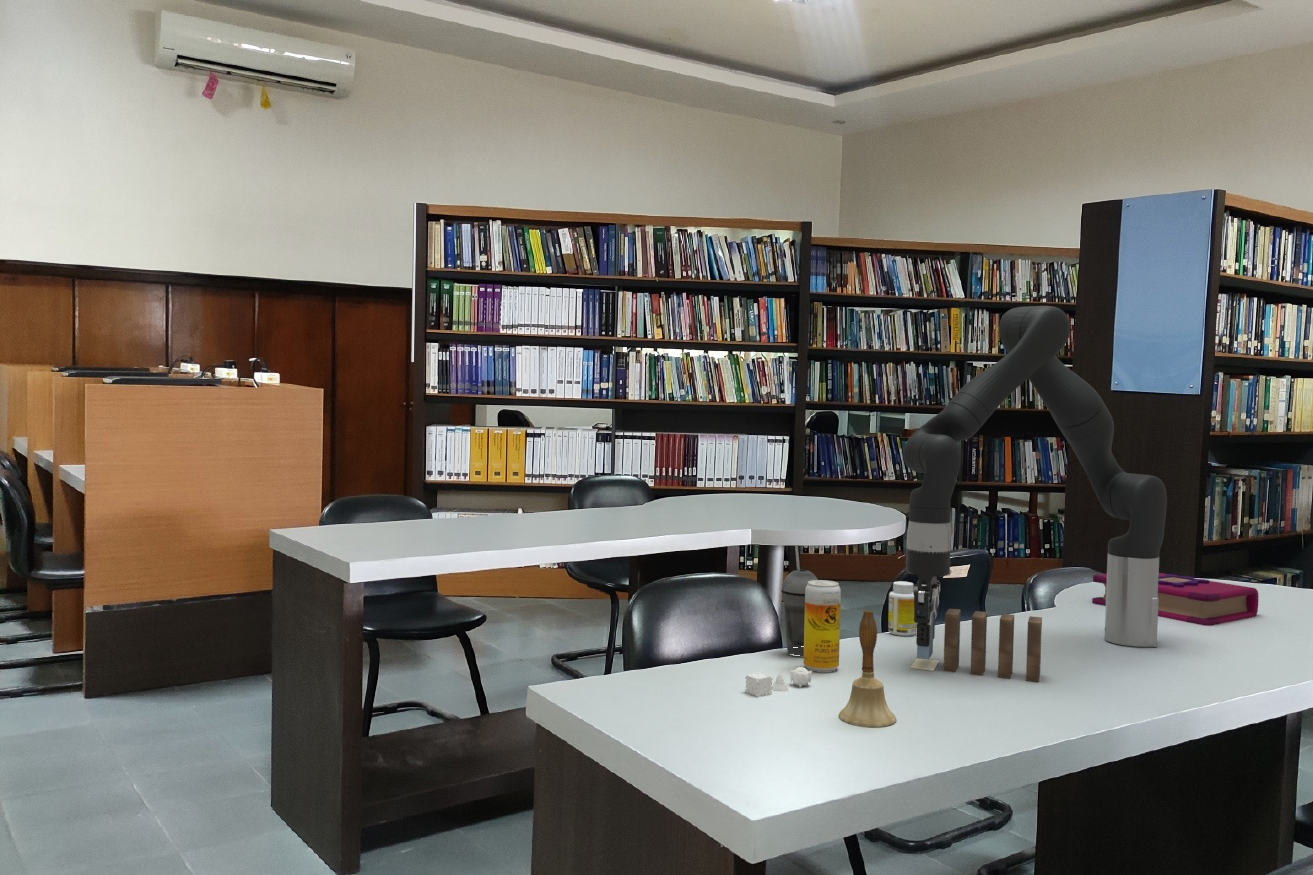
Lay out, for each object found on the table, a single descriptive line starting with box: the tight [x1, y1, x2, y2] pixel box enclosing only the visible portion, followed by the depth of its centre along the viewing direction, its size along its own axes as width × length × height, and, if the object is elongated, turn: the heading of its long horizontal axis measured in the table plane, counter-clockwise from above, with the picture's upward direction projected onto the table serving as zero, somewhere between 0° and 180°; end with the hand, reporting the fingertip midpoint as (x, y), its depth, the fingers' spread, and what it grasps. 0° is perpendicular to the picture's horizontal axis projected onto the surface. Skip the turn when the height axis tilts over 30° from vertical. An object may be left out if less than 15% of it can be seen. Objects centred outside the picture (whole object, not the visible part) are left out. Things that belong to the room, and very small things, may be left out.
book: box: [1091, 572, 1259, 627], centre depth 233 cm, size 21×28×8 cm
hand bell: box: [838, 609, 897, 728], centre depth 148 cm, size 8×8×16 cm
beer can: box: [803, 579, 842, 673], centre depth 175 cm, size 6×6×15 cm
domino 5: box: [1025, 615, 1043, 683], centre depth 172 cm, size 2×5×10 cm, turn 157°
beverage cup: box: [781, 544, 819, 656], centre depth 185 cm, size 7×7×20 cm
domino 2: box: [942, 608, 962, 673], centre depth 177 cm, size 2×5×10 cm, turn 156°
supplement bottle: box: [887, 580, 917, 637], centre depth 203 cm, size 6×6×10 cm
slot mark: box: [910, 657, 940, 672], centre depth 179 cm, size 4×7×1 cm, turn 157°
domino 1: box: [916, 603, 934, 660], centre depth 179 cm, size 2×5×10 cm, turn 157°
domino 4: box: [997, 613, 1015, 680], centre depth 174 cm, size 2×5×10 cm, turn 157°
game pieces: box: [744, 666, 813, 698], centre depth 163 cm, size 12×3×3 cm, turn 123°
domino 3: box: [970, 610, 988, 676], centre depth 175 cm, size 2×5×10 cm, turn 156°
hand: (925, 642), depth 179 cm, fingers closed on domino 1, 5 cm apart
